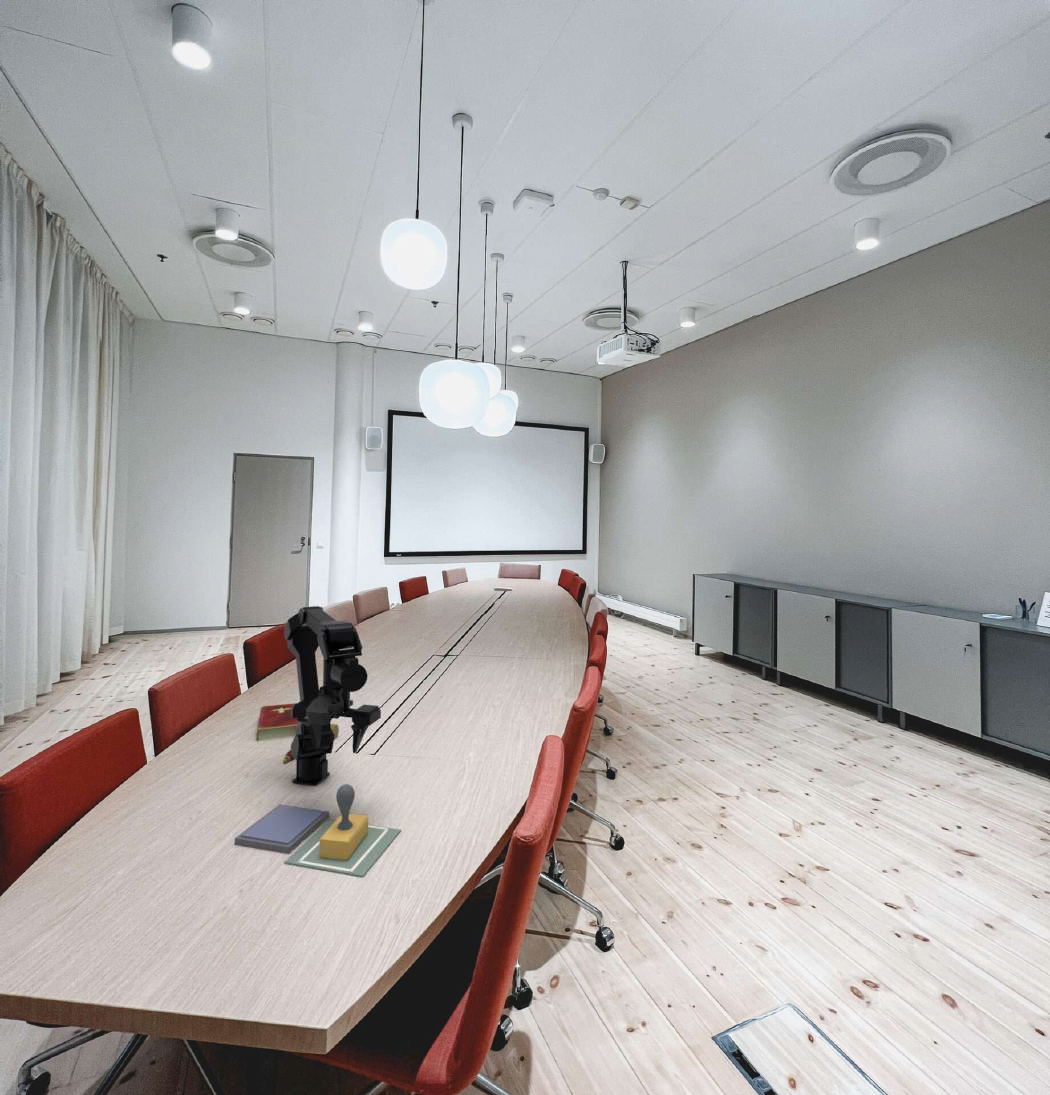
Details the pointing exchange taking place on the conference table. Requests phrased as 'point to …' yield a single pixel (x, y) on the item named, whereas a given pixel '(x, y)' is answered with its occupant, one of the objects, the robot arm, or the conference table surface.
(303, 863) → the marking board
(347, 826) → the rubber stamp
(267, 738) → the hardcover book
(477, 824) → the conference table surface
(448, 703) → the conference table surface
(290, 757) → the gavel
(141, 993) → the conference table surface
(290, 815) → the ink pad
